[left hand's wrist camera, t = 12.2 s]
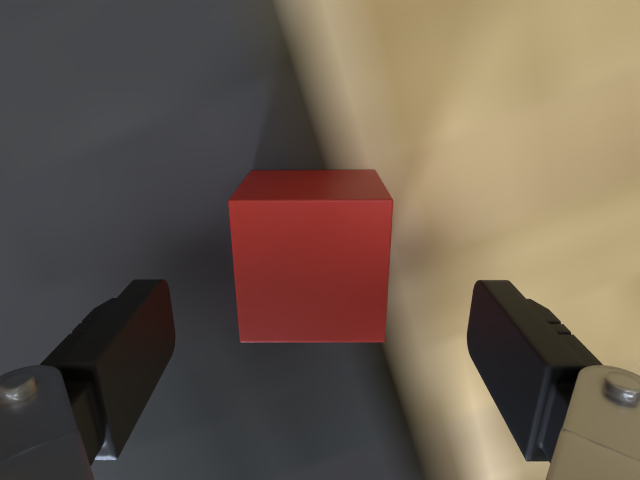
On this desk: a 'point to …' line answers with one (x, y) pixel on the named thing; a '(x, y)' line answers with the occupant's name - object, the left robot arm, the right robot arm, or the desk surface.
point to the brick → (311, 255)
